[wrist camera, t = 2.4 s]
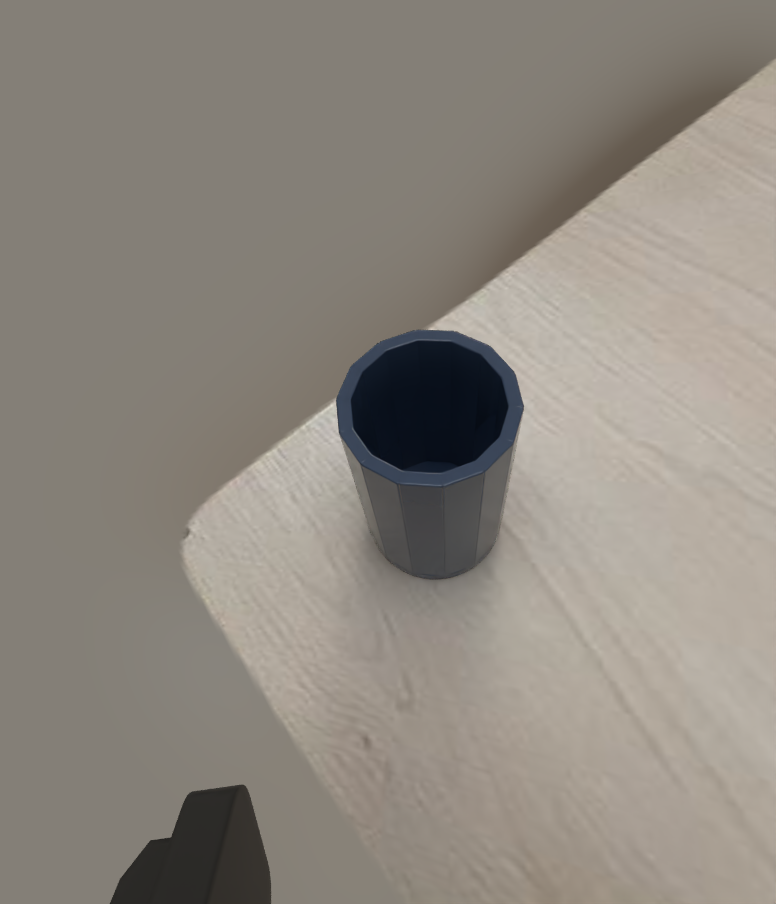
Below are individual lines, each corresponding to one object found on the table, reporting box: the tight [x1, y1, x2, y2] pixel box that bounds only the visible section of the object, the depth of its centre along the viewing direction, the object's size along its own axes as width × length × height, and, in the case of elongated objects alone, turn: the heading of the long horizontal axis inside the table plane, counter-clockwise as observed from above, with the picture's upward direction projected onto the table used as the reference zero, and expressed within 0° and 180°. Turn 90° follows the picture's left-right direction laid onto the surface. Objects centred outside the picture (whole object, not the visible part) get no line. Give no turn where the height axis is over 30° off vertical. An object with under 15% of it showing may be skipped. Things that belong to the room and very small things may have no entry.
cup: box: [336, 330, 524, 579], centre depth 22 cm, size 6×6×9 cm
